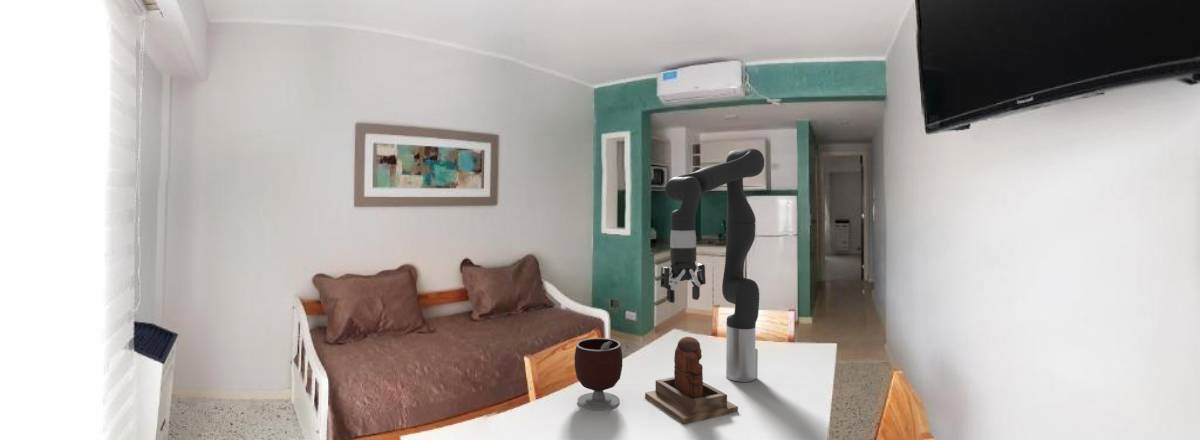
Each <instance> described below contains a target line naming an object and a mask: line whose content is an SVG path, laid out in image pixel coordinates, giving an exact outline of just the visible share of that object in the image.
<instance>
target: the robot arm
mask: <svg viewBox="0 0 1200 440" xmlns="http://www.w3.org/2000/svg"><path fill="white" fill-rule="evenodd" d="M764 168H765V157H764V155H763V153H762V152H761V150H759V149H756V148H745V149H743V148H742V149H735V150H734V149H733V150H731V151H729V153H728V154H727V156H726V159H725V162H721V163H717V164H713V165H712V164H711V165H708V166H706V167H704V168H700V169H698V170H696V171H693V172H690V173H686V174H681V175H677V176H674V177H672V178H670V179H669V180H668V181H667V182H666V184H665V186H664V193H665V195H666V197H667V199H668V200H670V201H672V202H681V204H680V206H679V208H678V209H674V210H673V211H672V212H671V215H670V228H671V229H670V235H669V236H670V237H669V238H670V239H669V243H670V245H669V250H670V251H669V256H670V257H669V258H670V259H669V260H670V263H671V264H670V266H669V267H668V266H661V269H660V270H661V271H660V287H661V288H663V289H666V300H667V301H668V303H671V304H673V303H675V297H676V296H675V288H676V285H678V284H679V283H680V282H685V281H689V282H690V284H692V287H691V296H692V297H691V298H692V299H693V300H695V301H696V300H697V301H698V300H699V298H700V296H701V293H700V291H701V289H700V288H701V286H702V285H705V284H706V282H707V281H706V268H705V267H706V266H705V264H702V263H697V264H696V262H697V233H696V215H697V212H698V208H699V204H700V200H701V196H702V194H705V193H707V192H710V191H713V190H715V189H717V188H719V187H721V186H723V185H726V191H727V192H726V194H727V195H726V198H727V200H726V201H727V205H726V228H725V229H726V231H725V235H726V237H725V238H726V240H725V241H726V243H725V244H726V245H725V259H724V261H725V262H724V268H723V269H724V270H723V277H722V283H721V285H722V286H721V292H722V295H723V299H724V300H725V301H726V302H728V303H730V304H733V305H734V313H733V314H731V315H727V317H726V338H725V339H726V342H725V343H726V344H725V345H726V346H725V347H726V348H725V351H726V352H725V355H726V357H725V359H726V361H725V363H726V367H725V369H726V371H725V372H726V373H725V375H726V378H727V379H728V380H731V381H733V382H740V383H750V382H753V381H755V380H756V379H757V378H758V373H759V372H758V369H759V368H758V366H759V365H758V363H759V362H758V359H759V358H758V357H759V352H758V351H759V350H758V348H756V325H757V324H756V323H757V321H758V318H759V310H760V288H759V285H758V284H757V281H755V280H753V279H751V278H747V277H744V270H745V262H746V258H747V256H748V254H749V252H750V250H751V248H752V246H753V244H754V242H755V239H756V238H755V237H756V223H757V222H756V215H755V212H754V210H753V208H752V207H751V205H750V203H749V201H748V199H747V197H746V195H745V190H744V179H745V178H752V177H753V178H754V177H756V176H759V175H760V174H761V173H762V172H763V170H764ZM670 274H671V275H670Z"/></svg>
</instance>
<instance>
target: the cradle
mask: <svg viewBox="0 0 1200 440" xmlns="http://www.w3.org/2000/svg"><path fill="white" fill-rule="evenodd" d="M644 398H645V399H646V400H648V401H649V402H651V403H653V404H654V405H655V406H656V407H659V408H660V409H661V410H662V411H664V412H665V413H667V414H668V415H669V416H671V417H673V418H674V419H675V420H677V421H678V422H680V423H681V424H682V425H687V424H690V423H691V424H692V423H696V422H699V421H700V422H701V421H704V420H709V419H712V418H713V419H714V418H718V417H722V416H727V415H730V414H736V413H738V412H739V406H737V405H736V404H734V403H732V402H730V401H729V400H728V394H726V393H725V392H723V391H721V390H719V389H717V388H716V387H714V386H712V385H710V384H708V383H706V382H704V381H703V397H701V398H696V399H691V398H690V397H688V396H686V395H685V394H683V393H681V392H680V391H678V390H676V389H675V376H672V377H667V378H660V379H657V380H655V390H651V391H645V392H644Z"/></svg>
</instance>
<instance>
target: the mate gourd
mask: <svg viewBox="0 0 1200 440" xmlns="http://www.w3.org/2000/svg"><path fill="white" fill-rule="evenodd" d="M575 344H576V347H575V351H574V369H575V376H576V379H577V380H578V382H579V383H580V384H581V385H582V387H584V388H585V389H588V390H592V392H587V393H584V394H581V395H580V396H579V397H578V398H577V405H578V407H580V408H581V409H584V410H587V411H594V412H604V411H605V412H606V411H610V410H612V409H615V408H617V407H618V406H619V405H620V403H621V401H620V397H618V395H616V394H613V393H610V392H604V391H605V390H609V389H613V388H614V387H615V386H616V385H617V383H619V380H620V379H621V375H622V371H623V352H622V347H621V342H620V341H618V340H616V339H612V338H604V337H592V338H591V337H590V338H585V339H581V340H579V341H578V342H576V343H575Z"/></svg>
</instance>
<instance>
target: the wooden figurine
mask: <svg viewBox="0 0 1200 440" xmlns="http://www.w3.org/2000/svg"><path fill="white" fill-rule="evenodd" d="M702 356H703V355H702V348H701V344H700V342H699V340H698V339H697V338H695V337H691V336H684V337H682V338H680V339H679V341H678V342H677V346H676V347H675V350H674V361H673V362H674V371H673V373H674V374H673V375H674V376H673V377H675V389H676V390H678V391H680V392H681V393H683V394H685V395H686V396H688V397H690V398H691V399H696V398H701V397H703V382H704V381H703V380H704V377H703V365H702V364H701V363H700V361H701V359H702Z"/></svg>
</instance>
